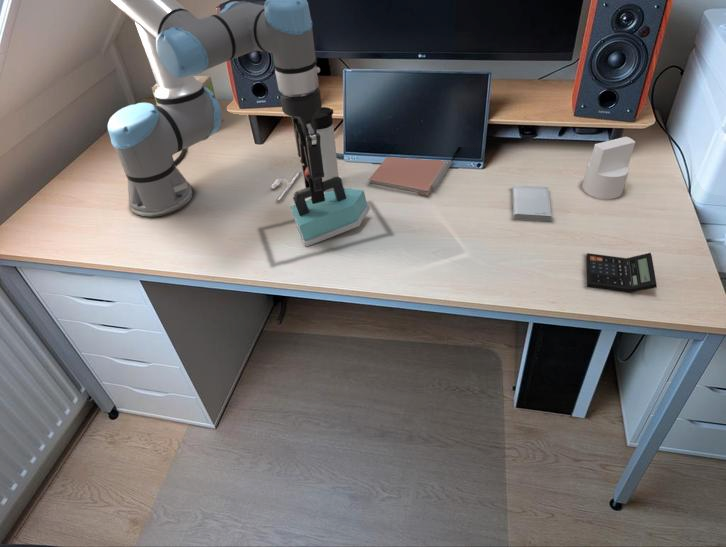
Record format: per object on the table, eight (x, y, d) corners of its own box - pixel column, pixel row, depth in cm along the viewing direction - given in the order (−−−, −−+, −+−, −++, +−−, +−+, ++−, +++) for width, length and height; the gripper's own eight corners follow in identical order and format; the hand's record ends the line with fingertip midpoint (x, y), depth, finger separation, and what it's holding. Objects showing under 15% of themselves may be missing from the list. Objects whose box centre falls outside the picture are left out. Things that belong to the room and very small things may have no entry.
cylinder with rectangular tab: (598, 202, 120) (611, 156, 112) (574, 183, 127) (585, 138, 119) (630, 194, 122) (646, 147, 114) (605, 175, 129) (618, 130, 121)
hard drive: (552, 216, 115) (548, 185, 124) (514, 213, 116) (512, 184, 125) (550, 222, 116) (547, 191, 125) (513, 219, 117) (512, 189, 126)
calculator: (586, 256, 106) (589, 244, 104) (648, 264, 104) (652, 252, 102) (587, 286, 100) (590, 275, 98) (653, 296, 97) (658, 284, 95)
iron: (363, 198, 122) (349, 139, 111) (377, 219, 115) (363, 158, 105) (295, 224, 120) (274, 167, 109) (305, 247, 113) (284, 188, 103)
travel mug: (337, 192, 130) (329, 116, 117) (312, 190, 132) (301, 115, 118) (343, 179, 135) (335, 105, 122) (318, 177, 136) (309, 104, 123)
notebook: (431, 197, 126) (432, 190, 125) (368, 185, 132) (368, 178, 130) (464, 146, 144) (464, 140, 143) (407, 137, 150) (407, 131, 148)
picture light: (279, 202, 128) (278, 195, 127) (263, 200, 129) (262, 193, 128) (300, 173, 138) (299, 166, 137) (285, 172, 139) (284, 165, 138)
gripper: (332, 102, 91) (344, 212, 106) (306, 70, 103) (321, 173, 118) (290, 111, 89) (309, 221, 105) (269, 78, 101) (289, 181, 117)
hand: (315, 196), depth 112 cm, fingers closed on iron, 4 cm apart
